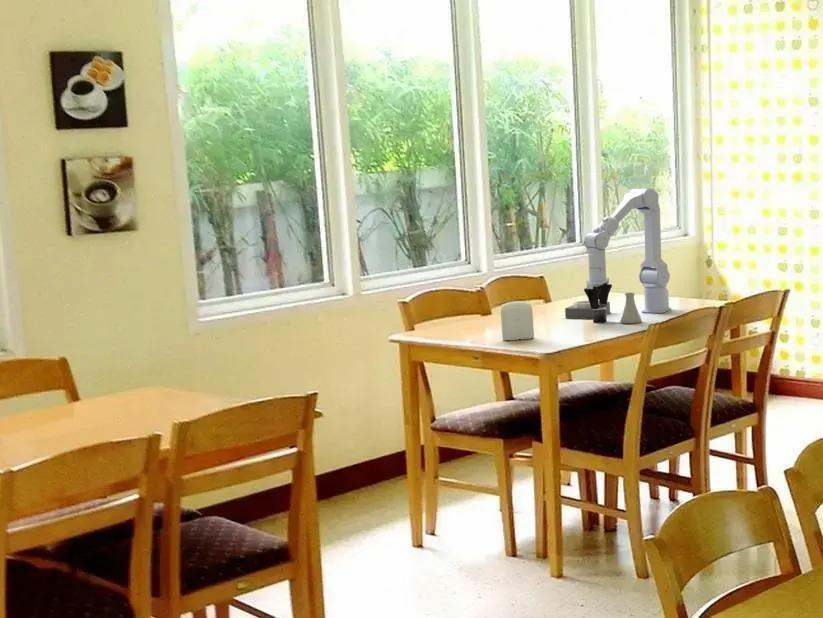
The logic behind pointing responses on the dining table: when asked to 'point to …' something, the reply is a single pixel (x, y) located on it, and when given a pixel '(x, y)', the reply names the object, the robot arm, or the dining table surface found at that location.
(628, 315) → the flask
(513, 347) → the dining table surface
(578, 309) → the camera body
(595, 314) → the lens
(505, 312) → the white rounded slab
